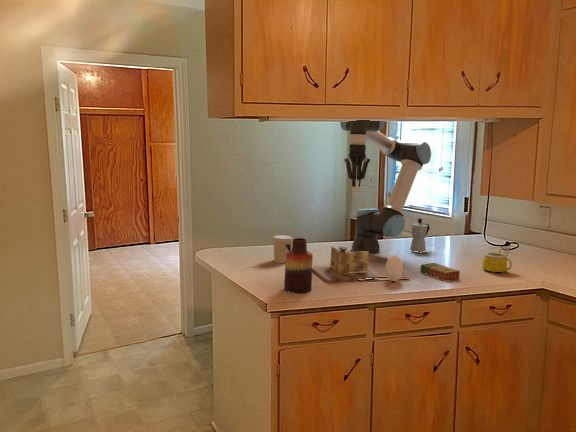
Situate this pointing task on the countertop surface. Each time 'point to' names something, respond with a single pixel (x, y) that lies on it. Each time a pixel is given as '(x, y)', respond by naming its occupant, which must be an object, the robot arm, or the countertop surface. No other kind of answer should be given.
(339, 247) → the hinge pin
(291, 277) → the vase
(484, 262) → the mug
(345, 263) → the hinge mount
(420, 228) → the coffee maker
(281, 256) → the coffee cup
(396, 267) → the egg
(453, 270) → the carton
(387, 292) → the countertop surface
